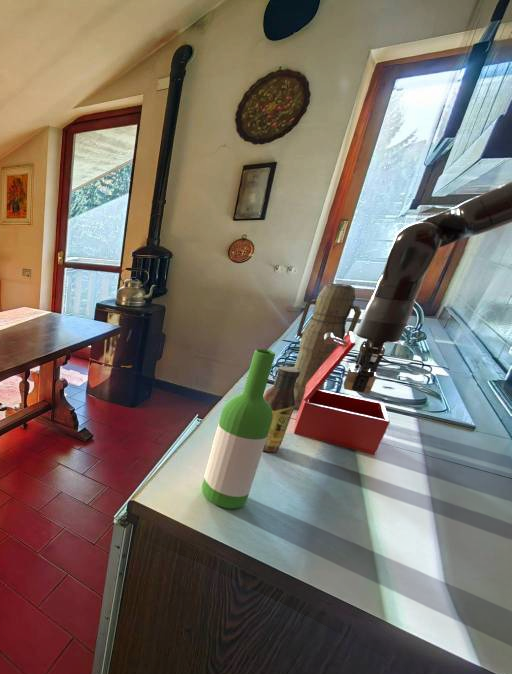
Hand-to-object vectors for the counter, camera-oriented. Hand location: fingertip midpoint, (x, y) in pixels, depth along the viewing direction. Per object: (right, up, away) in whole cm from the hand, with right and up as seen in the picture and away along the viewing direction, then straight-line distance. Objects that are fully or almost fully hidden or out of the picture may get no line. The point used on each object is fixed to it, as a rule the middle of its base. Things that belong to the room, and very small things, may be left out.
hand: (356, 387), depth 94 cm
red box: (-1, -12, +6) cm, 13 cm away
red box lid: (-5, +5, +2) cm, 7 cm away
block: (0, 0, 0) cm, 0 cm away
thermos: (+2, -6, +21) cm, 22 cm away
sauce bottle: (-23, -14, 0) cm, 27 cm away
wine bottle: (-43, -22, -18) cm, 51 cm away
